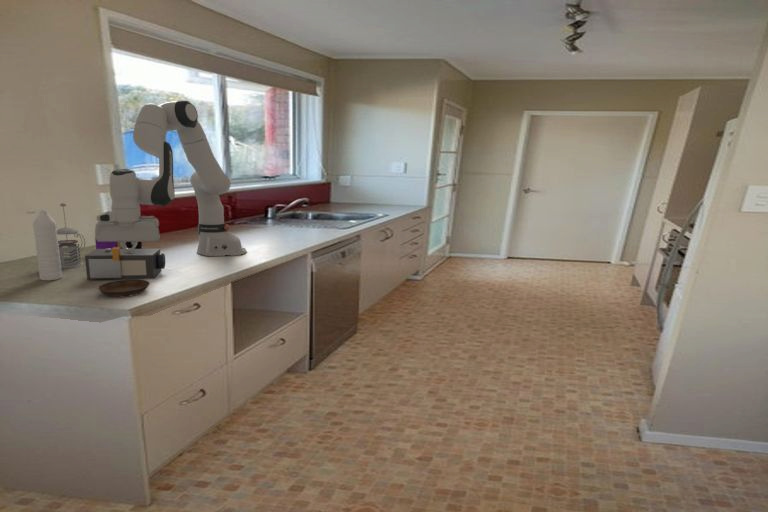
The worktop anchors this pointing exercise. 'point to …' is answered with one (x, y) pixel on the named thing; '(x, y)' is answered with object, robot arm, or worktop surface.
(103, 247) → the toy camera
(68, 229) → the french press
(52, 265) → the water bottle
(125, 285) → the saucer
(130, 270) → the camera housing
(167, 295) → the worktop surface
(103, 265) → the side door
